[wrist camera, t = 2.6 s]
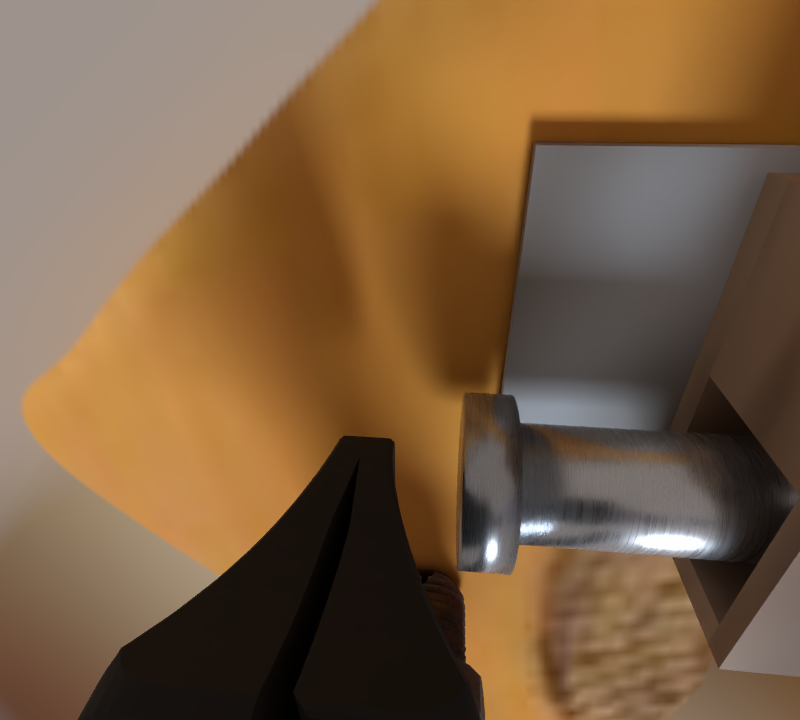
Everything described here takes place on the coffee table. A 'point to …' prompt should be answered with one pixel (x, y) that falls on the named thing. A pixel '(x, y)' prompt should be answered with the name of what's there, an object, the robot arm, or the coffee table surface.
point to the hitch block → (673, 334)
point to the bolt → (454, 627)
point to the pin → (609, 490)
